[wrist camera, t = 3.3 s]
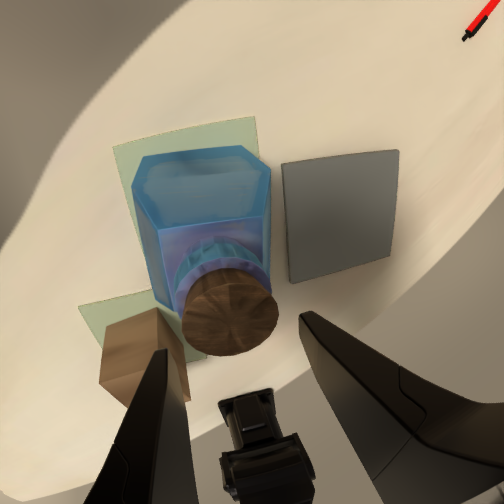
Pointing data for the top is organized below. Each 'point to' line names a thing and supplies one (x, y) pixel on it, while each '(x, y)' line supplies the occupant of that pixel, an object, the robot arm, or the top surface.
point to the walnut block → (138, 353)
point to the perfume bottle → (209, 244)
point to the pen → (480, 19)
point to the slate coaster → (339, 211)
